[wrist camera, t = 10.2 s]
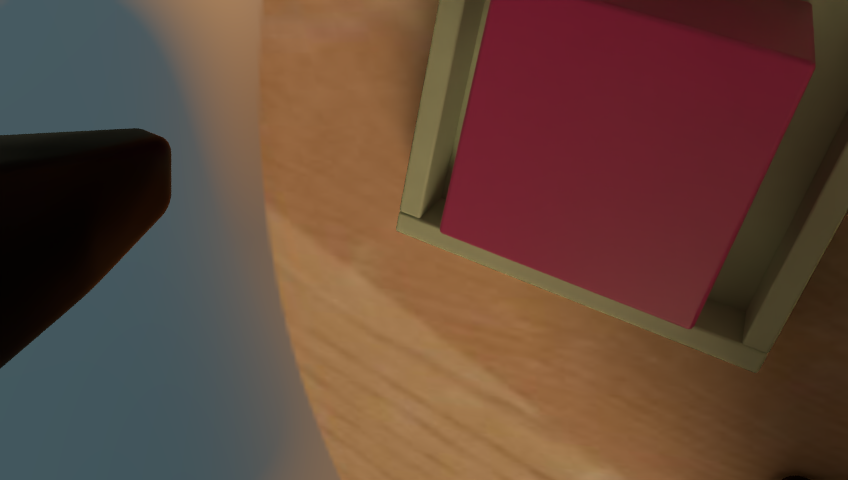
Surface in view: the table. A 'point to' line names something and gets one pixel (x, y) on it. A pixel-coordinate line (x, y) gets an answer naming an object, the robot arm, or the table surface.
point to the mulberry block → (626, 139)
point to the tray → (758, 236)
